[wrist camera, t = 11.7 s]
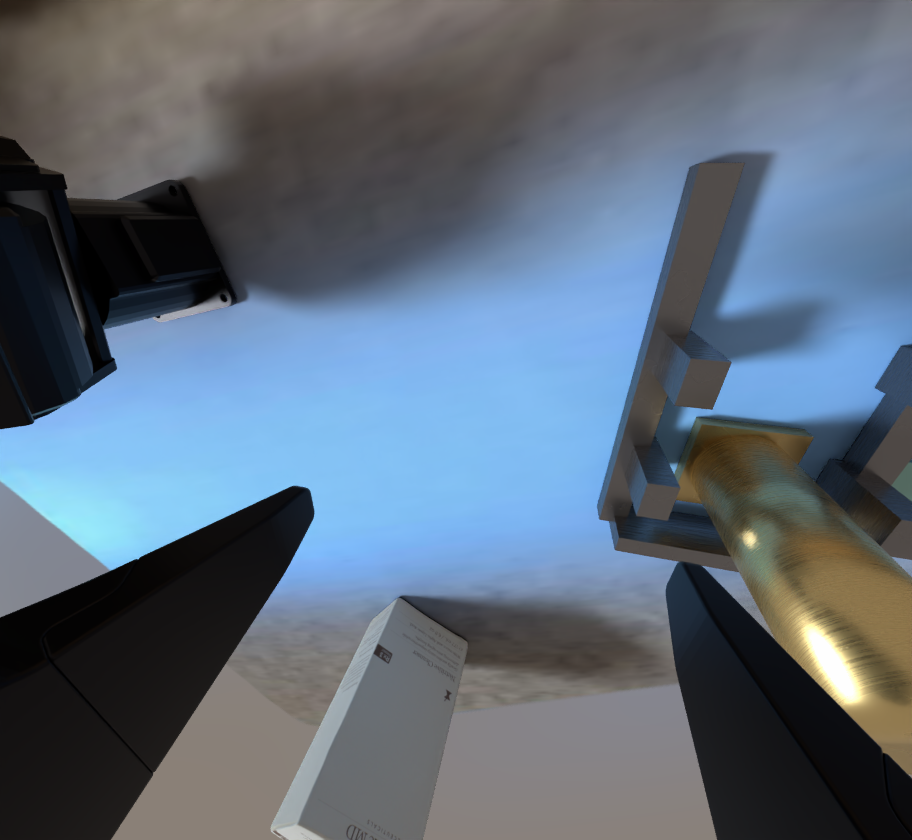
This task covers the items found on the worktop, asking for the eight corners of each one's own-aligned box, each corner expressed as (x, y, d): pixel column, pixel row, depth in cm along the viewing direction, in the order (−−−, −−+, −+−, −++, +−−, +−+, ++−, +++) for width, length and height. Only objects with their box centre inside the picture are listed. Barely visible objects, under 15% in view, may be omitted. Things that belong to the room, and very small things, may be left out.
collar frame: (595, 512, 24) (604, 568, 20) (689, 166, 15) (739, 148, 11) (879, 558, 21) (954, 634, 17) (1206, 166, 12) (1516, 142, 8)
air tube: (667, 490, 22) (780, 749, 11) (696, 416, 20) (874, 657, 9) (761, 504, 21) (982, 799, 10) (804, 429, 19) (1148, 713, 8)
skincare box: (470, 640, 34) (422, 898, 21) (435, 662, 37) (375, 899, 24) (394, 592, 33) (295, 831, 20) (365, 618, 36) (263, 841, 23)
